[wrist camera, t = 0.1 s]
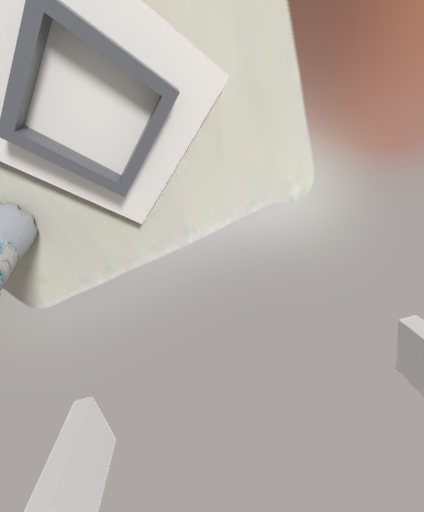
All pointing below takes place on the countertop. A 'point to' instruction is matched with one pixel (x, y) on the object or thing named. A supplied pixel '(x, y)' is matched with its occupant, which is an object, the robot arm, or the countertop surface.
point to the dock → (100, 98)
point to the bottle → (14, 237)
